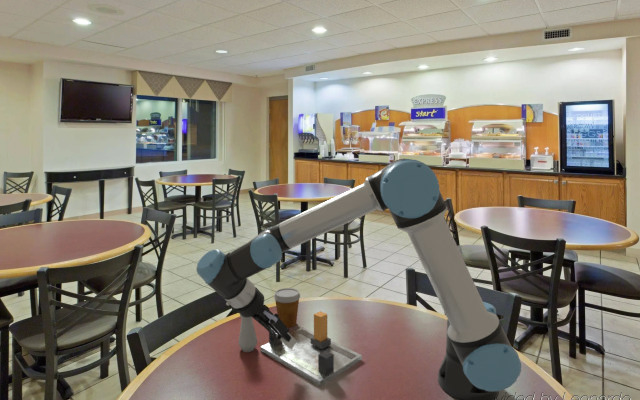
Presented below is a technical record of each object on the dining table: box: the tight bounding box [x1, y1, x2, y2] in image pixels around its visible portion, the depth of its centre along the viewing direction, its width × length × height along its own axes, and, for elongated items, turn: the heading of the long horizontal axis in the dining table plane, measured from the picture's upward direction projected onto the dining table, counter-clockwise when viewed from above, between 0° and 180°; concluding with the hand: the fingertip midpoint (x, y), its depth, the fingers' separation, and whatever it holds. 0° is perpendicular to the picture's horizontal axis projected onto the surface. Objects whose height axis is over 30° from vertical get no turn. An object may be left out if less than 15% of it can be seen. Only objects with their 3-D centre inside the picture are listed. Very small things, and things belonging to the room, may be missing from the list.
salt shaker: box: [238, 314, 258, 353], centre depth 120 cm, size 6×6×13 cm
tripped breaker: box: [311, 310, 332, 349], centre depth 119 cm, size 5×4×10 cm
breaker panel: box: [260, 327, 363, 387], centre depth 117 cm, size 26×18×6 cm
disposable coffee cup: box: [273, 287, 301, 329], centre depth 137 cm, size 10×10×12 cm
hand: (292, 344), depth 110 cm, fingers closed
